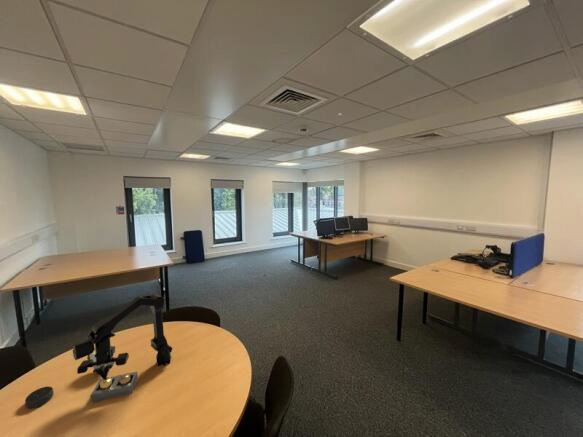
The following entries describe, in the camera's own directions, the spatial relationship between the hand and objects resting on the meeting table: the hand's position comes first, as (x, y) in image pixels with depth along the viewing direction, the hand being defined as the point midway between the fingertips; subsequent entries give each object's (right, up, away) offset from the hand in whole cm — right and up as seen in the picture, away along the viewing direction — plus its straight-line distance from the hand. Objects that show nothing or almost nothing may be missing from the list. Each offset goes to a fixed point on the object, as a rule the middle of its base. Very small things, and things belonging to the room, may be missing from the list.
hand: (105, 379), depth 115 cm
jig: (+4, -7, +2) cm, 8 cm away
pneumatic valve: (-14, -6, +16) cm, 22 cm away
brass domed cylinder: (0, -7, +1) cm, 7 cm away
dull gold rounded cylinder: (+7, -7, +3) cm, 10 cm away
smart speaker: (-27, -8, -4) cm, 28 cm away
